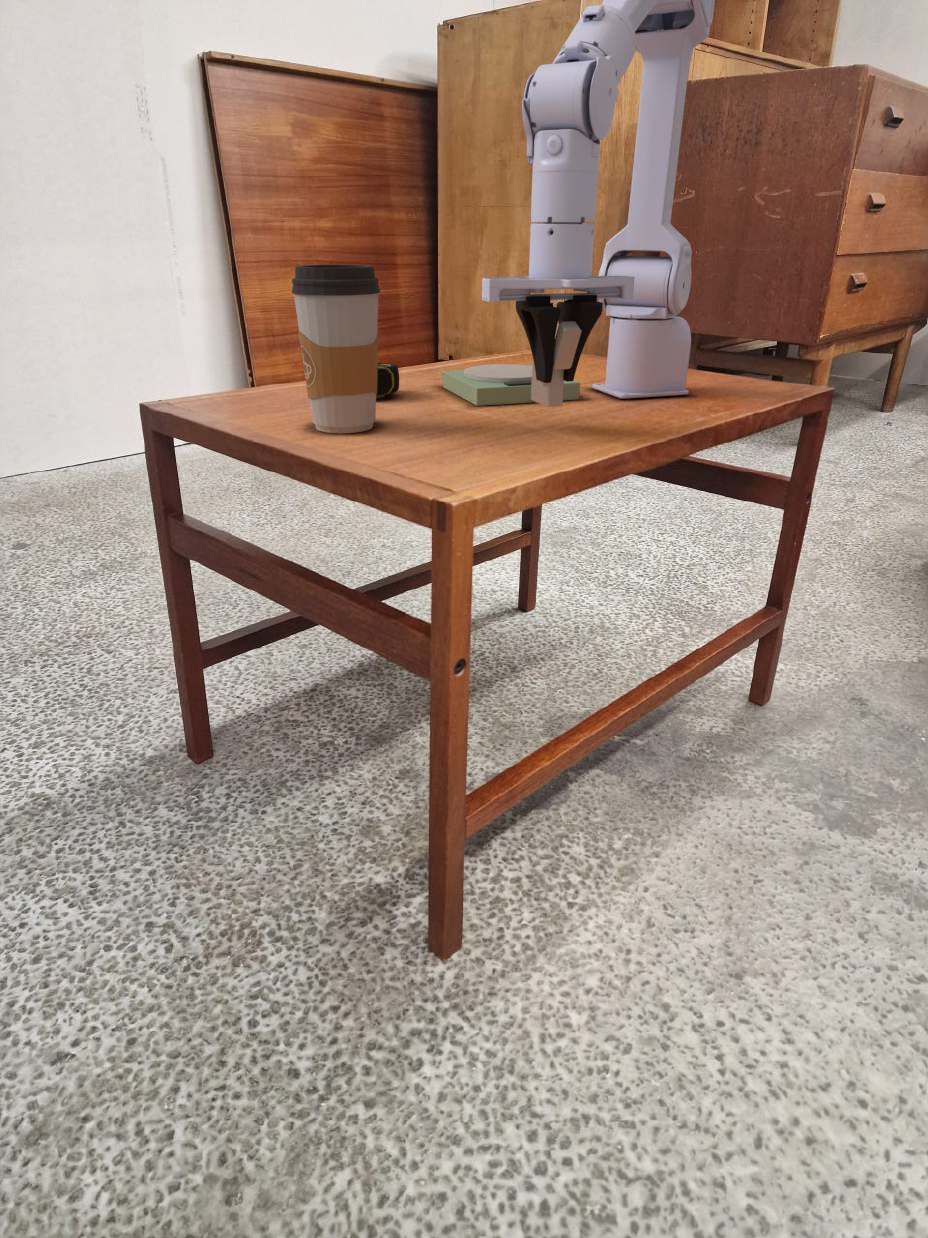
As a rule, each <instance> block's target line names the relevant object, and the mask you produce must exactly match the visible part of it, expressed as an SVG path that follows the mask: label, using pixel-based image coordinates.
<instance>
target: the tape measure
mask: <svg viewBox="0 0 928 1238" xmlns="http://www.w3.org/2000/svg"><path fill="white" fill-rule="evenodd" d="M399 371H400V370H399V367H398V366H397V365H396V364H395V363H390V362H389V363H388V362H378V371H377V395H376V400H377V399H385V398H386V395H392V394H395V393H398V391H399V389H400V372H399Z"/></svg>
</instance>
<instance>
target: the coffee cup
mask: <svg viewBox="0 0 928 1238" xmlns="http://www.w3.org/2000/svg"><path fill="white" fill-rule="evenodd" d="M374 267H375V266H374V265H369V264H368V265H365V264H364V265H363V264H306V265H305V264H304V265H295V268H294V269H295V270H294V278H292V279H291V283H292V287H291V294H293V297H294V298H293V299H294V304H295V311H296V317H297V325H298V339H299V346H300V351H301V359H302V366H303V372H304V380H305V385H306V394H307V398H308V401H309V408H310V409H309V410H310V416H311V421H312V423H313V424H314V425H315V429H316V430H317V431H318V432H323V433H328V434H352V433H353V434H354V433H355V434H356V433H361V432H365V431H370V430H371V429H373V428H374V423H375V422H376V419H377V399H376V395H377V371H378V363H379V330H378V327H379V326H378V323H379V321H378V320H379V319H378V318H379V294H380V293H381V289H380V286H379V282H380V280H379V278H378V277H376V274H375V268H374Z"/></svg>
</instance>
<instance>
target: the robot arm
mask: <svg viewBox="0 0 928 1238" xmlns="http://www.w3.org/2000/svg"><path fill="white" fill-rule="evenodd" d="M715 2H716V0H602V2H601V4H597V5H588V6H586V8H585V9H584V11H583V13H582V14H581V17H580V18H579V20H577V21H578V22H577V23H576V25H575V26H574V28H572V29H573V30H571V32H570V34H569V36H568V37H567V39H566V40H565V42H564V44H563V46H562V47H561V48H560V50H559V51H558V53H557V55H556V57H555V58H554V60H553V62H552V63H547V64H541V65H539V66H538V67H537V69H536V70H535V72H532V73H531V74H530V75H529V76H528V78H527V81H526V84H525V85H524V86H525V87H524V92H523V99H522V100H521V113H522V114H521V115H522V116H521V117H522V123H523V128H524V131H525V136H526V137H525V138H526V157H527V163H528V165H532V168H531V169H532V170H531V171H532V173H531V174H532V175H531V179H532V180H531V200H530V201H531V202H530V230H529V257H528V260H529V261H528V275H527V276H502V277H482V278H481V301H482V302H486V303H500V302H515V311H516V313H517V316H518V318H519V320H520V323H521V325H522V327H523V329H524V332H525V334H526V337H527V340H528V344H529V348H530V351H531V355H532V359H533V360H534V366H535V372H536V380H538V381H541V382H543V383H551V380H552V374H553V353H554V342H555V337H556V333H557V329H558V325H559V323H560V322H571V321H575V322H576V323H577V325H578V326H579V328H580V329H581V335H580V338H579V342H578V345H577V349H576V352H575V356H574V359H573V363H572V366H571V368H569V369H564V381H567V382H569V381H573V380H574V381H575V375H576V372H577V368H578V365H579V362H580V359H581V355H582V353H583V350H584V347H585V346H586V343H587V341H588V339H589V336H590V334H591V332H592V330H593V329H594V327H595V325H596V324H597V322H598V321H599V318H600V317H601V316H602V313H603V311H605V316H606V317H610V318H609V332H608V344H607V345H608V346H607V357H606V369H605V382H604V383H593V384H591V389H594V390H596V391H599V392H602V393H604V394H607V395H610V396H613V397H615V398H618V399H622V400H623V399H641V398H653V397H654V398H655V397H671V396H672V397H673V396H686V395H689V393H690V390H688V389H686V388H687V379H688V372H689V363H690V355H691V348H692V334H691V327H690V325H689V323H688V321H687V320H686V319H685V318H684V317H681V316H677V315H679V314H680V313H682V311H683V310H684V308H685V307H686V306H687V303H688V300H689V296H690V293H691V287H692V255H693V254H692V253H693V250H692V246H691V243H690V242H689V240H688V239H687V238H686V237H685V236H684V235H683V234H681V233H680V232H679V231H678V230H677V228H675V227H674V226H673V225H672V223H671V221H672V212H673V205H674V204H673V203H674V195H675V187H676V180H677V172H678V162H679V153H680V145H681V136H682V128H683V120H684V111H685V103H686V93H687V85H688V78H689V72H690V66H691V62H692V58H693V52H694V49H695V48H696V47H697V46H699V45H700V44H701V43H702V42H704V41H705V40H706V39H708V38H709V36H710V30H711V25H712V23H713V20H714V11H715V5H716V3H715ZM636 52H637V53H639V54H640V56H641V58H642V61H643V65H642V75H641V83H640V84H641V86H640V96H639V105H638V106H639V107H638V117H637V125H636V135H635V136H636V137H635V146H634V155H633V156H634V157H633V166H632V167H633V168H632V176H631V186H630V196H629V206H628V216H627V224H626V225H625V226H624V227H623V228H622V229H621V230H620V231H618V233H616V234H614V236H612V237H611V238H610V239H609V240H608V241H607V242H606V243H605V247H604V249H603V257H602V262H601V266H600V269H599V272H598V275H592V272H593V257H594V244H595V243H594V241H595V223H596V211H597V210H596V209H597V197H598V182H599V181H598V180H599V169H600V168H599V167H600V155H601V153H600V152H601V141H603V140H604V139H605V138H606V137H607V136H608V135H609V134H610V132H611V129H612V124H613V120H614V115H615V114H614V113H615V107H616V103H617V101H618V97H619V89H618V86H619V85H620V83H621V81H622V78H623V77H624V75H625V73H626V72H627V71H628V68H629V66H630V65H631V63H632V61H633V59H634V56H635V54H636ZM635 252H637V253H638V252H642V253H666V254H668V255H669V256H657V255H656V256H654V255H653V256H651V255H629V254H631V253H635ZM545 290H573V291H576V292H568V293H567V292H565V293H561V292H559V293H545ZM557 300H558V302H557V303H556V304H555V305H556V306H554V302H551V301H557ZM562 300H563V301H562Z"/></svg>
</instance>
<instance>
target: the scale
mask: <svg viewBox="0 0 928 1238" xmlns="http://www.w3.org/2000/svg"><path fill="white" fill-rule="evenodd" d="M531 383H532V365H528V364H514V363H494V364H491V363H490V364H480V365H473V366H469V367H466V368H464V369H456V370H454V369H453V370H443V371H442V388H444V389H445V390H448V391H449V392H451V393H453V394H455V395H456V396H458V397H460V398H461V399H464V400H466V401H467V402H469V403H471V404H472V405H474V406H475V407H476V406H477V407H482V406H498V405H499V406H500V405H513V404H514V405H515V404H530V403H536V402H535V401H533V400H531ZM580 387H581V382H579V381H577V380H575V379H574V380H573V381H569V382H567V381H564V386H563V401H578V400H580V391H581V389H580Z"/></svg>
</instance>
